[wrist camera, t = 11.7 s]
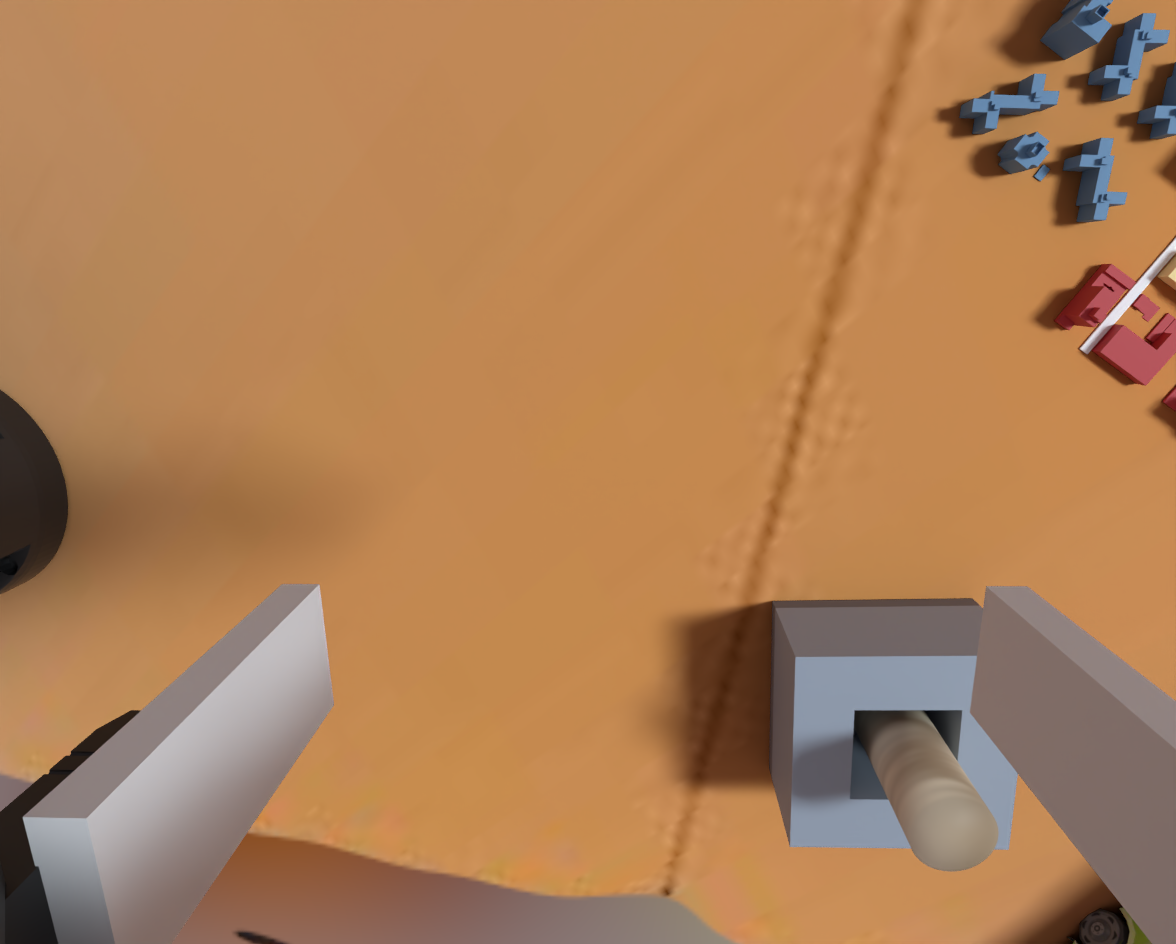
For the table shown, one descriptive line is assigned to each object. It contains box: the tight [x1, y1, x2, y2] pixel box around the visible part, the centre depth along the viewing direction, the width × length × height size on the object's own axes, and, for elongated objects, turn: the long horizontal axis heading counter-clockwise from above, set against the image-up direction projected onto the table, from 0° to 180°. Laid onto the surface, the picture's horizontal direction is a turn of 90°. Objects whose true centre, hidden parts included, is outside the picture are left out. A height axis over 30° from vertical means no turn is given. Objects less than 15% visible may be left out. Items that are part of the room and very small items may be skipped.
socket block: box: [769, 599, 1018, 850], centre depth 43 cm, size 12×12×7 cm
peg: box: [854, 710, 999, 871], centre depth 40 cm, size 4×4×12 cm
